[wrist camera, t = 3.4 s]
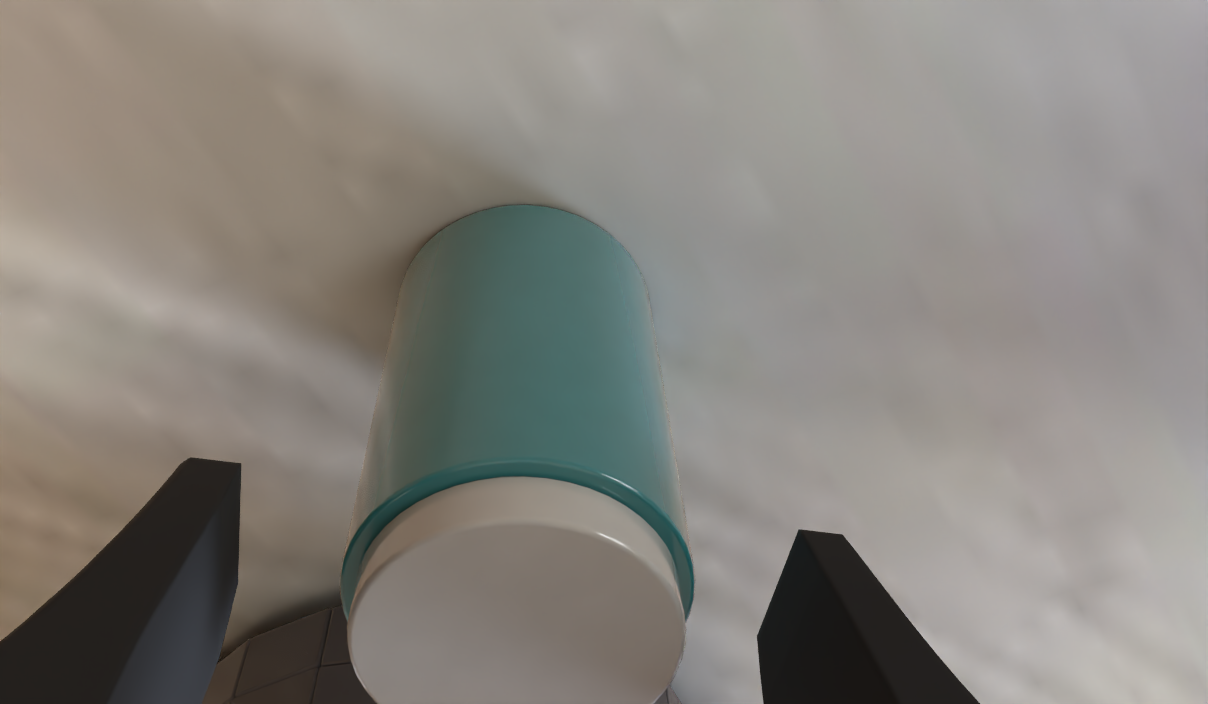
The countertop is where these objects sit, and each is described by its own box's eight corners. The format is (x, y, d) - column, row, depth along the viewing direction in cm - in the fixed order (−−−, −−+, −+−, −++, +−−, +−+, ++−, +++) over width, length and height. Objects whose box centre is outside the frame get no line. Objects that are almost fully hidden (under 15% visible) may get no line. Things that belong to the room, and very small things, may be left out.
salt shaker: (675, 225, 18) (746, 531, 12) (622, 432, 21) (658, 779, 14) (411, 183, 18) (342, 483, 12) (386, 402, 20) (317, 751, 14)
